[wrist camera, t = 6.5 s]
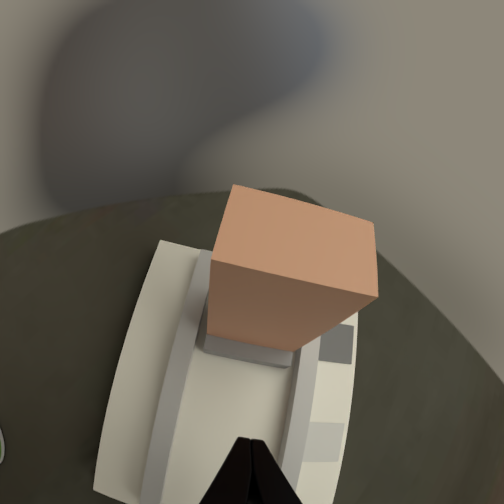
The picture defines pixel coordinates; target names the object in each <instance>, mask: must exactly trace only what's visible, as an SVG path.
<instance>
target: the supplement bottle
mask: <svg viewBox="0 0 504 504" xmlns="http://www.w3.org/2000/svg"><path fill="white" fill-rule="evenodd" d="M4 451H5V446H4V439H3V435H2V431H1V429H0V463H1V462H2V460H3V458H4Z"/></svg>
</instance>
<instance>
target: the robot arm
mask: <svg viewBox="0 0 504 504" xmlns="http://www.w3.org/2000/svg"><path fill="white" fill-rule="evenodd" d="M199 504H303V503H302V502H301V500H300V499H299V497H298V496H297V494H296V493H295V491H294V490H293V488H292V486H291V485H290V483H289V482H288V480H287V479H286V477H285V475H284V474H283V472H282V470H281V469H280V467H279V465H278V464H277V462H276V460H275V459H274V457H273V455H272V454H271V452H270V450H269V448H268V447H267V445H266V443H265V442H264V441H263V440H260V439H251V440H250V438H246V437H237V439H236V441H235V442H234V444H233V446H232V448H231V450H230V452H229V453H228V455H227V457H226V459H225V461H224V462H223V464H222V466H221V468H220V469H219V471H218V473H217V474H216V476H215V478H214V480H213V481H212V483H211V485H210V486H209V488H208V490H207V491H206V493H205V495H204V496H203V498H202V499H201V501H200V503H199Z"/></svg>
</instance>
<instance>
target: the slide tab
mask: <svg viewBox="0 0 504 504" xmlns="http://www.w3.org/2000/svg"><path fill="white" fill-rule="evenodd" d="M376 298H378V278H377V260H376V247H375V235H374V225H373V222H369V221H367V220H364V219H360V218H357V217H354V216H351V215H347V214H344V213H341V212H337V211H334V210H330V209H327V208H324V207H320V206H317V205H313V204H309V203H306V202H302V201H298V200H295V199H291V198H287V197H283V196H279V195H276V194H272V193H268V192H264V191H260V190H255V189H251V188H247V187H243V186H238V185H233V187H232V190H231V193H230V197H229V200H228V203H227V206H226V209H225V213H224V216H223V219H222V223H221V226H220V229H219V233H218V236H217V239H216V243H215V246H214V249H213V253H212V256H211V262H210V278H209V296H208V316H207V335H206V339H205V344H204V348H203V352H204V353H208V354H212V355H217V356H221V357H226V358H230V359H235V360H240V361H244V362H250V363H255V364H260V365H266V366H271V367H277V368H283V369H285V368H288V367H290V366H291V363H292V357H293V352H294V351H296V350H297V349H299V348H301V347H302V346H304V345H306V344H307V343H309V342H311V341H312V340H314V339H316V338H317V337H319V336H321V335H322V334H324V333H325V332H327V331H329V330H330V329H332V328H333V327H335V326H337V325H338V324H340V323H341V322H343V321H344V320H346V319H347V318H349V317H350V316H352V315H353V314H355V313H356V312H358V311H359V310H361V309H362V308H363V307H365V306H366V305H368V304H369V303H371V302H372V301H373V300H375V299H376Z"/></svg>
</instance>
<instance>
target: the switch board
mask: <svg viewBox="0 0 504 504" xmlns="http://www.w3.org/2000/svg"><path fill="white" fill-rule="evenodd" d="M212 253H213V252H212V251H207V250H203V249H201V250H199V249H195V248H191V247H187V246H183V245H179V244H175V243H171V242H166V241H162V240H160V242H159V244H158V247H157V250H156V252H155V255H154V257H153V260H152V262H151V265H150V268H149V270H148V273H147V276H146V278H145V281H144V284H143V287H142V290H141V292H140V295H139V298H138V301H137V304H136V307H135V310H134V313H133V316H132V319H131V322H130V325H129V329H128V332H127V335H126V338H125V342H124V345H123V348H122V352H121V355H120V359H119V362H118V366H117V370H116V373H115V377H114V381H113V385H112V389H111V393H110V397H109V402H108V406H107V410H106V415H105V420H104V425H103V430H102V435H101V440H100V446H99V451H98V457H97V464H96V471H95V478H94V486H93V490H95V491H97V492H99V493H102V494H104V495H106V496H109V497H111V498H114V499H116V500H119V501H122V502H124V503H127V504H199V503H200V501H201V499H202V498H203V496H204V495H205V493H206V491H207V490H208V488H209V486H210V485H211V483H212V481H213V480H214V478H215V476H216V474H217V473H218V471H219V469H220V468H221V466H222V464H223V462H224V461H225V459H226V457H227V455H228V453H229V452H230V450H231V448H232V446H233V444H234V442H235V441H236V439H237V437H246V438H250V440H251V439H260V440H263V441H264V442H265V443H266V445H267V447H268V448H269V450H270V452H271V454H272V455H273V457H274V459H275V460H276V462H277V464H278V465H279V467H280V469H281V470H282V472H283V474H284V475H285V477H286V479H287V480H288V482H289V483H290V485H291V486H292V488H293V490H294V491H295V493H296V494H297V496H298V497H299V499H300V500H301V502H302V503H303V504H332V502H333V498H334V495H335V490H336V486H337V482H338V478H339V473H340V468H341V463H342V458H343V453H344V448H345V442H346V436H347V430H348V423H349V416H350V409H351V401H352V392H353V382H354V372H355V359H356V344H357V323H358V312H356V313H355V314H353V315H352V316H350V317H349V318H347V319H346V320H344V321H343V322H341V323H340V324H338V325H337V326H335V327H333V328H332V329H330V330H329V331H327V332H325V333H324V334H322V335H321V336H319V337H317V338H316V339H314V340H312V341H311V342H309V343H307V344H306V345H304V346H302V347H301V348H299V349H297V350H296V351H294V352H293V357H292V363H291V366H290V367H288V368H285V369H283V368H277V367H271V366H266V365H260V364H255V363H250V362H244V361H240V360H235V359H230V358H226V357H221V356H217V355H212V354H208V353H204V352H203V348H204V344H205V339H206V335H207V316H208V296H209V278H210V262H211V256H212Z"/></svg>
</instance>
